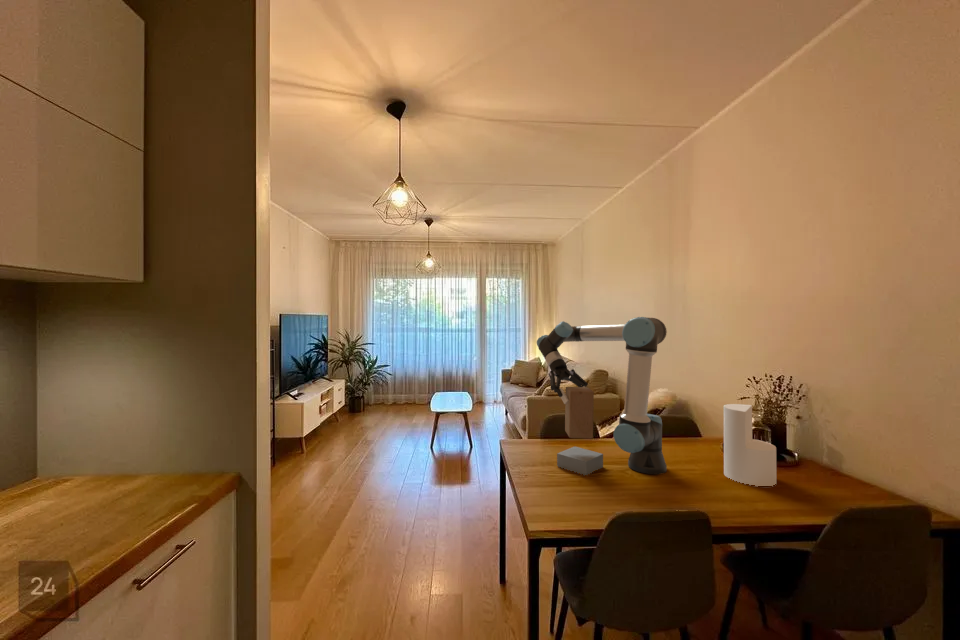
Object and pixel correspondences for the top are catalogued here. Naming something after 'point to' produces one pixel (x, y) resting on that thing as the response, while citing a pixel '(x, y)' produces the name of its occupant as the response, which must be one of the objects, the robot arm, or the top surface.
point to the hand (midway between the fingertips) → (578, 401)
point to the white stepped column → (746, 449)
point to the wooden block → (579, 412)
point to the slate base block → (580, 460)
